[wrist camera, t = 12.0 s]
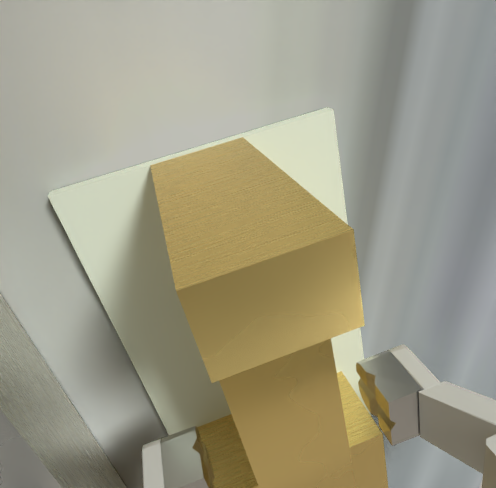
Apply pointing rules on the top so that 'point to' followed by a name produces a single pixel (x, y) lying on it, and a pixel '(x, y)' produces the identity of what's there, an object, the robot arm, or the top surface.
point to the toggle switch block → (42, 422)
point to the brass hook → (269, 319)
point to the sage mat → (160, 273)
